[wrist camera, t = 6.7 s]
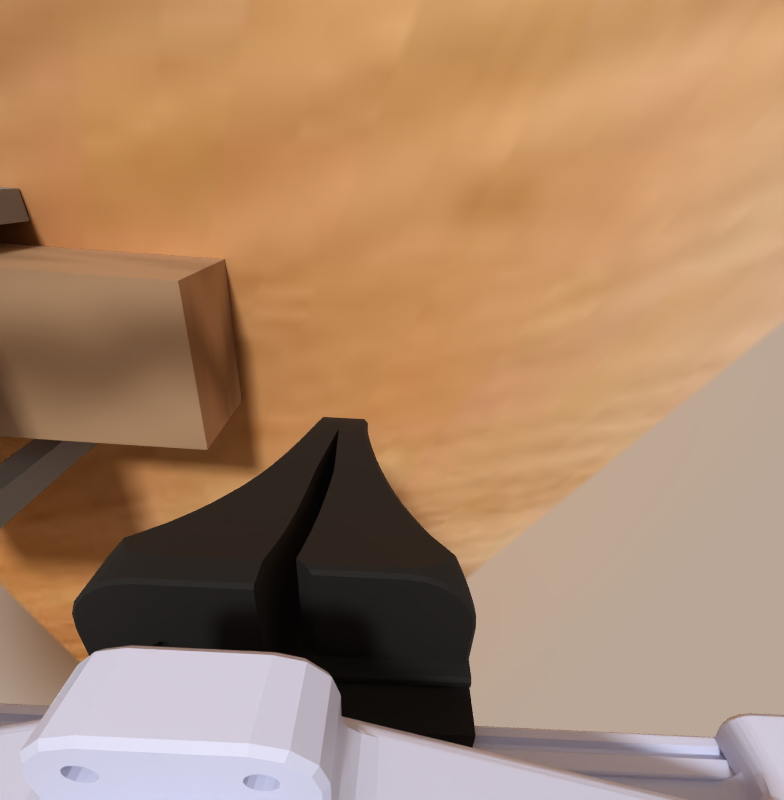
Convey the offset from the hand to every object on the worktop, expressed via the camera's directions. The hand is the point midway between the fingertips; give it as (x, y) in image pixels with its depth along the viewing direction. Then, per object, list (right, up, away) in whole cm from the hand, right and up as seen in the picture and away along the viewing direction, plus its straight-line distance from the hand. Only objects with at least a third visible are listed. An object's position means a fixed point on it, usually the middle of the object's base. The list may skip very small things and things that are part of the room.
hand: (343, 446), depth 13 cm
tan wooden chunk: (-11, +5, +7) cm, 14 cm away
